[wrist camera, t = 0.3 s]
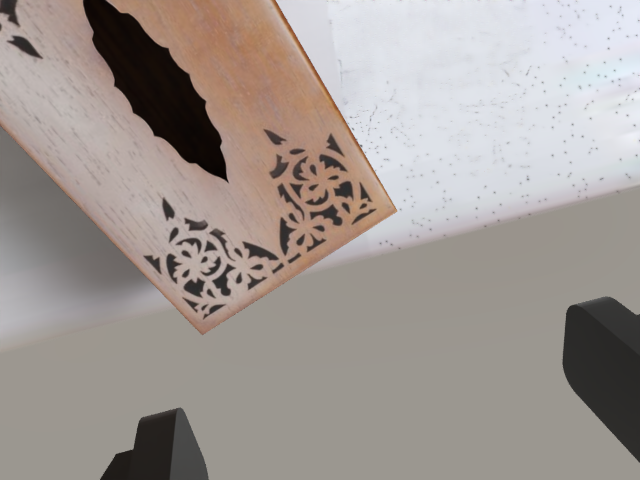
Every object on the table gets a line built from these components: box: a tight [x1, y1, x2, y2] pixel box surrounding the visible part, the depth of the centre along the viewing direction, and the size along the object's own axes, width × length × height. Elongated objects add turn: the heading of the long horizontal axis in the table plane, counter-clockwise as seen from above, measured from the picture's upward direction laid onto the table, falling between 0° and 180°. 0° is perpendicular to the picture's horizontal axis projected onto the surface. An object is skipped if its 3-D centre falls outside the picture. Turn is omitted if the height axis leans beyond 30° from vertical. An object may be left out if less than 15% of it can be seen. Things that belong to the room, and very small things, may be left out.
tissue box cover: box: [0, 0, 397, 335], centre depth 29 cm, size 26×14×10 cm, turn 31°
